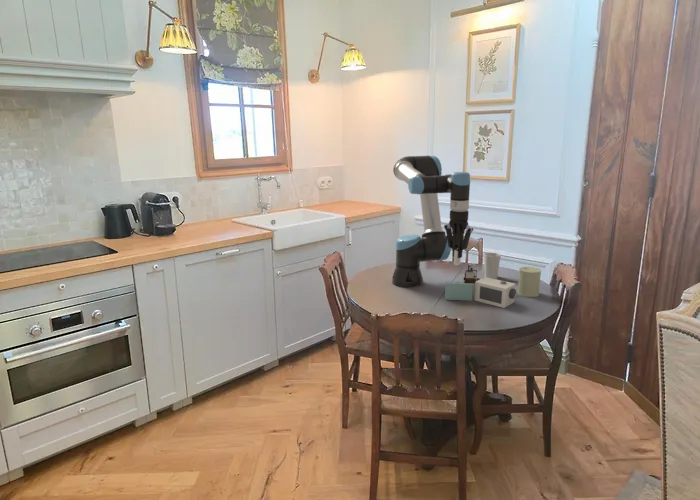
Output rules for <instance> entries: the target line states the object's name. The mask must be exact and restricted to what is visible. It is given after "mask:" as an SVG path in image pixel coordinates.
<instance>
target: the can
mask: <svg viewBox="0 0 700 500" xmlns="http://www.w3.org/2000/svg"><path fill="white" fill-rule="evenodd" d="M518 272H519V273H518V286H517V295H520V296H522V297H527V298H537V297H539V295H540V285H541V273H542V270H541V268H539V267H535V266H522V267H519V271H518Z"/></svg>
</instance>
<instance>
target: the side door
mask: <svg viewBox="0 0 700 500" xmlns="http://www.w3.org/2000/svg"><path fill="white" fill-rule="evenodd" d="M474 297H475V284H468V283H464V282H462V283H461V282H445V291H444V300H452V301H475V300H474Z"/></svg>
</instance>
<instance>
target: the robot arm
mask: <svg viewBox="0 0 700 500" xmlns="http://www.w3.org/2000/svg"><path fill="white" fill-rule="evenodd" d="M442 170H443V169H442V163H441V160H440V159H439V158H438V157H437V156H435V155H413V156H411V155H410V156H409V155H407V156H403V157H401V158H399V159H398V160H396V162H395V163H394V165H393V171H392V172H393V174H394V176H395V177H396V179H398V180H399V181H403V182H405V183H406V184H407V187H408V191H409V193H410V194H412V195H419V196H420V206H421V215H422V222H423V230H424V231H423V232H422V234H421V236H420V235H419V234H405V235H403V236H402V235H401V236H399V237H397V239H396V242H395V268H394V272H393V274H392V281H391V282H392V284H393V285H395V286H397V287H398V286H399V287H404V288H415V287H419V286H421V285H423V283H424V277H423V275H422V271H421V268H420V265H421V264H420V263H421V262H434V261H435V262H436V261H437V262H440V261H445V260H447V259H448V258H449V256H450V254H451V250H452V257H453V265H454V266H456V267H457V266H459V265H461V259H462V258H463V251H464V250H466V249H467V248H468V245H469V242H470V238H471V235H472V233H473V231H474V228H473V227H470V225H469V222H468V221H469V208H470V207H469V206H470V205H469V204H470V190H471V189H470V187H471V174H470V173H469V172H466V171H465V172H464V171H456V172H455V171H454V172H452V173H451V174H444V175H443V173H442ZM438 194H450V199H449V201H450V202H449V209H450V211H449V222H448V223H447V224H444V226H443V227H444V229H445V230H443V228H442V221H441V214H440V206H439V205H440V204H439V195H438Z"/></svg>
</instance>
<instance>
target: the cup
mask: <svg viewBox="0 0 700 500" xmlns="http://www.w3.org/2000/svg"><path fill="white" fill-rule="evenodd" d="M483 259H484V277H487V278H492V279H497V280H498V277H499V268H500V262H501V253H497V252H485V253H484V255H483Z"/></svg>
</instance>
